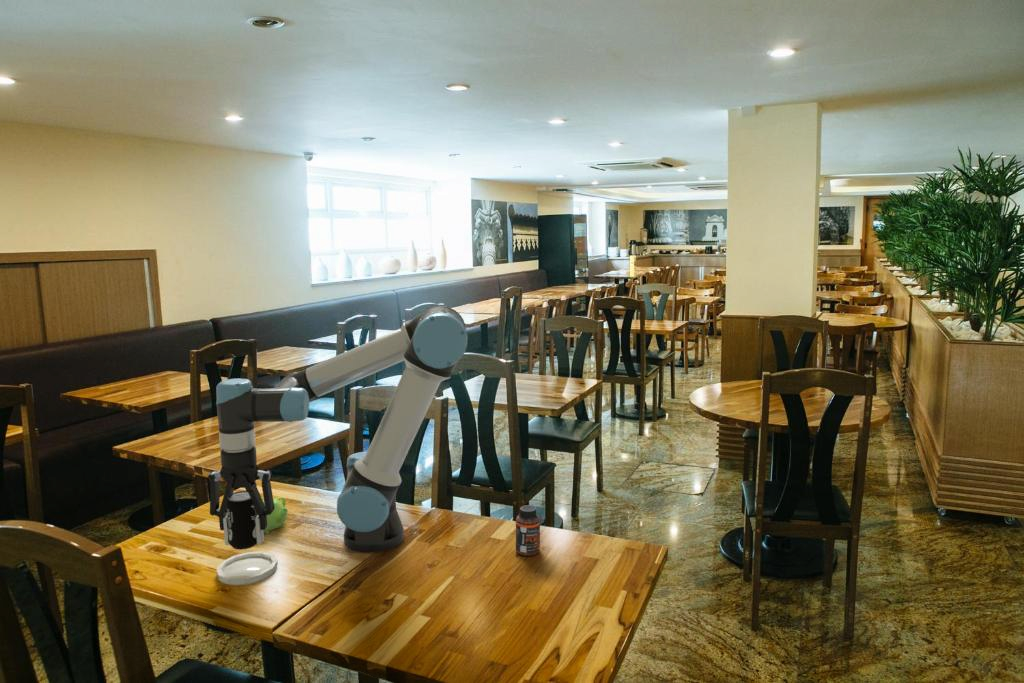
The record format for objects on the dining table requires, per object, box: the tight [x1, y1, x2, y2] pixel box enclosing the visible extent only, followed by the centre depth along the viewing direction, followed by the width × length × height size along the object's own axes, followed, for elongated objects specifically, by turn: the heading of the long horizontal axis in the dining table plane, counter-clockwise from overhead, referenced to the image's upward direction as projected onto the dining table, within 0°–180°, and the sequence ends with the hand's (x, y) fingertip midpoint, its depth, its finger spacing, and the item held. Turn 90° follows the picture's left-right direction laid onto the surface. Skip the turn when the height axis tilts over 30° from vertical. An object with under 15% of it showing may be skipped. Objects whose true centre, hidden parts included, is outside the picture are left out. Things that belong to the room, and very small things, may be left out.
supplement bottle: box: [515, 504, 541, 557], centre depth 170 cm, size 6×6×11 cm
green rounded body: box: [262, 496, 289, 534], centre depth 185 cm, size 11×12×8 cm
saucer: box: [216, 551, 279, 587], centre depth 162 cm, size 13×13×2 cm
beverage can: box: [227, 490, 258, 550], centre depth 160 cm, size 7×7×12 cm
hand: (244, 542), depth 161 cm, fingers closed on beverage can, 7 cm apart
